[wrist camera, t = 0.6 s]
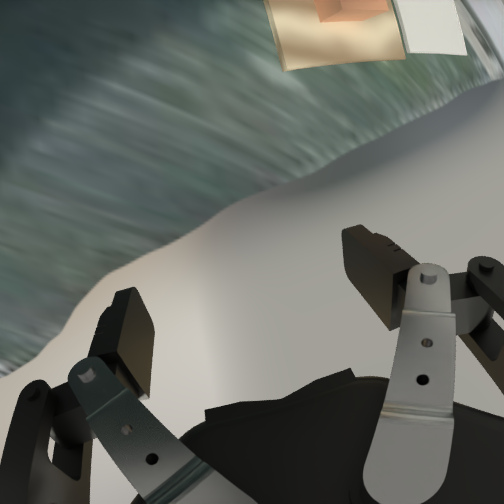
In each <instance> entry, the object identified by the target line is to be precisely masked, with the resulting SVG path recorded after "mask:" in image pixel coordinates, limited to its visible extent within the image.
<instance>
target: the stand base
mask: <svg viewBox="0 0 504 504" xmlns="http://www.w3.org/2000/svg"><path fill="white" fill-rule="evenodd" d="M263 2H264V5H265V8H266V12H267V15H268V19H269V22H270V26H271V29H272V33H273V37H274V40H275V44H276V48H277V52H278V55H279V59H280V63H281V67H282V71H283V72H284V71H290V70H296V69H303V68H309V67H317V66H325V65H333V64H343V63H354V62H367V61H386V60H402V59H406V58H405V54H404V49H403V45H402V41H401V37H400V33H399V29H398V25H397V21H396V18H395V14H394V10H393V7H392V4H391V0H386V2H387V5H388V9H389V11H387V12H384V13H381V14H379V15H376V16H374V17H371V18H369V19H366V20H364V21H341V22H322V23H320V20H319V17H318V13H317V10H316V7H315V3H314V0H263Z"/></svg>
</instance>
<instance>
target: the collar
mask: <svg viewBox="0 0 504 504" xmlns="http://www.w3.org/2000/svg"><path fill="white" fill-rule="evenodd" d="M314 3H315V7H316V10H317V13H318V17H319V20H320V23H322V22H341V21H364V20H366V19H369V18H371V17H374V16H376V15H379V14H381V13H384V12H387V11H389V9H388V5H387V2H386V0H314Z"/></svg>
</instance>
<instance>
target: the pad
mask: <svg viewBox="0 0 504 504" xmlns="http://www.w3.org/2000/svg"><path fill="white" fill-rule="evenodd" d="M393 2H394V5H395V8H396V12H397V15H398V19H399V22H400V26H401V30H402V34H403V38H404V42H405V47H406V51H407V53H432V54H451V55H467V52H466V47H465V42H464V38H463V34H462V30H461V26H460V22H459V18H458V14H457V11H456V7H455V4H454V0H393Z"/></svg>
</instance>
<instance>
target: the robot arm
mask: <svg viewBox="0 0 504 504" xmlns="http://www.w3.org/2000/svg"><path fill="white" fill-rule="evenodd" d="M342 246H343V258H344V267H345V271H346V274H347V277H348V278H349V280H350V281H351V283H352V284H353V285H354V286H355V288H356V289H357V290H358V291H359V292H360V293H361V295H362V296H363V298H364V299H365V300H366V301H367V303H368V304H369V305H370V306H371V308H372V309H373V310H374V312H375V313H376V314H377V315H378V317H379V318H380V319H381V320H382V322H383V323H384V324H385V326H386V327H387V328H388V329H389V331H391V330H394V329H396V328H398V327H400V331H399V336H398V341H397V347H396V352H395V357H394V362H393V367H392V372H391V376H390V379H388V378H383V377H375V376H364V377H355V375H354V374H353V372H352V370H351V368H348V369H346V370H343V371H340V372H337V373H334V374H332V375H329V376H326V377H323V378H320V379H317V380H315V381H313V382H312V383H310V384H308V385H306V386H304V387H302V388H301V389H299V390H297V391H295V392H293V393H292V394H290V395H288V396H286V397H284V398H282V399H277V400H264V401H244V402H237V403H233V404H229V405H224V406H221V407H216V408H211V409H206V410H205V420H206V421H204V422H202V423H200V424H198V425H196V426H194V427H193V428H191V429H190V430H189V431H187V432H186V433H185V434H184V435H183V436H181V437H180V438H179V439H177V438H176V437H175V436H174V435H173V434H172V433H171V432H170V431H169V430H168V429H167V428H166V427H165V426H164V425H163V424H162V423H161V422H160V421H159V420H158V419H157V418H156V417H155V416H154V415H153V414H152V413H151V412H150V411H149V410H148V409H147V408H146V407H145V406H144V405H143V404H142V403H141V402H140V400H145V399H149V396H150V381H151V368H152V357H153V346H154V335H155V331H154V325H153V322H152V319H151V317H150V315H149V313H148V311H147V309H146V307H145V305H144V303H143V301H142V298H141V296H140V294H139V292H138V290H137V289H136V288H135V287H131V288H127V289H124V290H120V291H117V292H116V293H115V296H114V299H113V302H112V305H111V306H110V307H107V308H106V310H105V311H104V312H103V313H102V315H101V316H100V318H99V321H98V325H97V328H96V331H95V335H94V337H93V340H92V343H91V346H90V350H89V353H88V356H87V358H85V359H83V360H81V361H79V362H78V363H77V364H75V365H74V366H73V368H72V369H71V370H70V372H69V375H68V382H66V383H63V384H61V385H59V386H57V387H55V388H52V389H51V388H50V386H49V385H48V384H47V383H46V382H45V381H44V380H35V381H32V382H31V383H29V384H28V385H27V386H25V388H24V389H23V390H22V391H21V393H20V395H19V398H18V401H17V404H16V407H15V411H14V413H13V417H12V420H11V424H10V427H9V431H8V435H7V438H6V442H5V447H4V450H3V455H2V459H1V464H0V504H90V474H91V458H92V444H93V439H95V438H98V439H99V441H100V442H101V444H102V445H103V447H104V448H105V449H106V451H107V452H108V454H109V455H110V457H111V458H112V459H113V461H114V462H115V464H116V465H117V466H118V468H119V469H120V470H121V472H122V473H123V474H124V476H125V477H126V478H127V479H128V481H129V482H130V483H131V484H132V486H133V487H134V488H135V489H136V490H137V492H138V494H137V496H136V497H135V498H134V500H133V501H132V502H131V504H504V417H500V416H497V415H493V414H491V413H487V412H484V411H481V410H478V409H475V408H472V407H469V406H465V405H463V404H459V403H457V402H454V401H453V397H454V382H455V360H456V358H455V357H456V335H458V336H459V337H460V338H461V339H462V341H463V342H464V343H465V344H466V346H467V347H468V348H469V349H470V351H471V352H472V353H473V354H474V356H475V357H476V358H477V360H478V361H479V362H480V363H481V365H482V366H483V367H484V369H485V370H486V371H487V373H488V374H489V375H490V377H491V378H492V379H493V381H494V382H495V383H496V385H497V386H498V387H499V389H500V390H501V392H502V393H503V394H504V330H503V329H502V328H501V327H500V326H499V325H498V324H497V323H496V322H495V321H494V320H493V319H492V317H493V313H494V310H495V311H496V312H497V313H498V314H499V315H500V316H501V317H502V318H503V320H504V265H503V264H501V263H500V262H499V261H497V260H496V259H493V258H491V257H486V256H478V257H474V258H472V259H471V260H470V261H469V262H468V267H467V272H462V273H455V274H448V272H447V270H445V269H444V268H443V267H441V266H439V265H436V264H432V263H422V264H420V263H419V262H417V261H416V260H415V259H414V258H413V257H411V256H410V255H409V254H408V253H407V252H405V251H404V250H403V249H401V248H400V247H399V246H398V245H397V244H396V245H395V243H394V242H393V241H392V240H391V239H389V238H388V237H386V236H383V235H381V234H378V233H374V234H373V233H371V232H370V231H369V230H368V229H366V228H365V227H364V226H363V225H356V226H353V227H349V228H346V229H343V230H342ZM50 437H51V438H52V439H53V440H54V441H55V446H54V452H53V459H52V463H51V461H50V459H49V457H48V452H47V450H48V444H49V438H50Z"/></svg>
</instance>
